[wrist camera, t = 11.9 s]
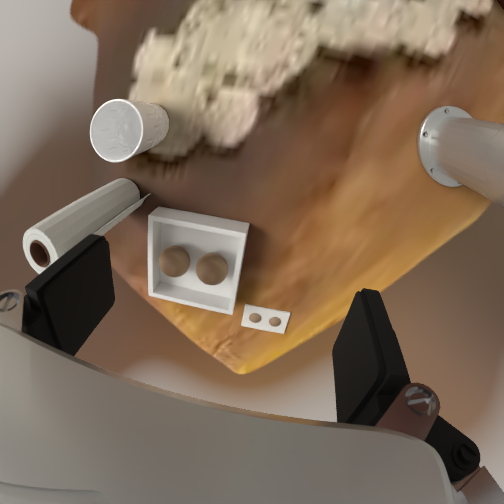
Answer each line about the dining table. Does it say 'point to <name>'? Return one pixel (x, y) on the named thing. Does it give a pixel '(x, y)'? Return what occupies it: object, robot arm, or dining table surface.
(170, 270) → the walnut ball
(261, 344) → the dining table surface
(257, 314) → the card
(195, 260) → the bin
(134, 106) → the white cup
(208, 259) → the ball
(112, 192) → the paper towel roll
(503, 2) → the bucket
